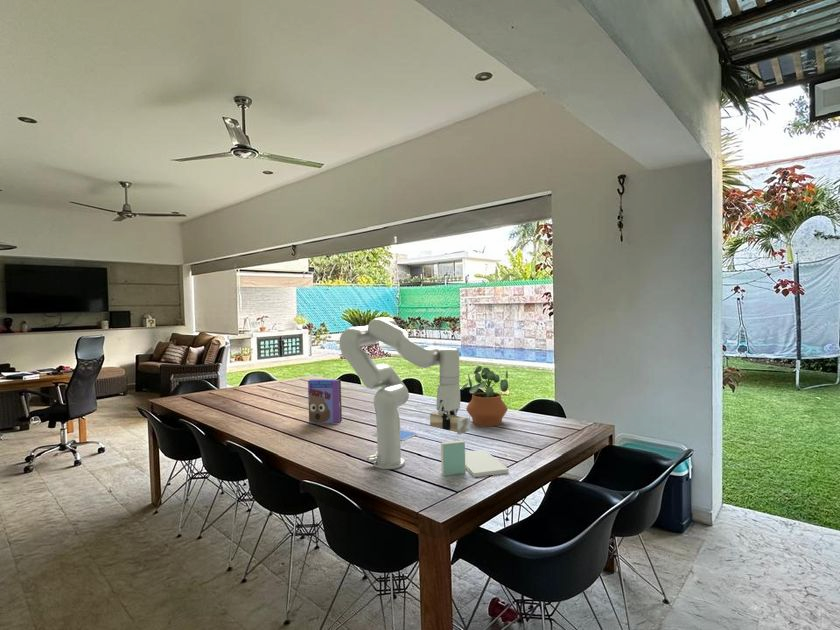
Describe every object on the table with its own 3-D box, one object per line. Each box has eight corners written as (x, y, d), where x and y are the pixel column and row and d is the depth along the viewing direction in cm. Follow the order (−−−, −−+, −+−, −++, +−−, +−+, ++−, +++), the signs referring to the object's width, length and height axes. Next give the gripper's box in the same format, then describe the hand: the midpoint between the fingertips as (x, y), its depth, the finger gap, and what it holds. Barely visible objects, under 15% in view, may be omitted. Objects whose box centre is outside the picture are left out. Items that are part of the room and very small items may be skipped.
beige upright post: (459, 434, 163) (459, 420, 163) (426, 426, 172) (427, 414, 172) (469, 430, 168) (469, 417, 168) (437, 423, 178) (437, 410, 178)
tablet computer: (372, 436, 224) (372, 433, 224) (388, 430, 234) (388, 427, 234) (402, 442, 213) (402, 439, 213) (418, 435, 223) (418, 432, 223)
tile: (443, 475, 169) (442, 444, 168) (441, 473, 171) (440, 442, 171) (465, 473, 171) (465, 442, 171) (463, 471, 173) (463, 440, 173)
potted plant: (516, 421, 244) (515, 366, 243) (489, 433, 222) (487, 373, 221) (480, 415, 258) (479, 363, 258) (452, 426, 237) (450, 369, 236)
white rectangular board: (473, 477, 167) (473, 473, 167) (453, 456, 190) (453, 452, 190) (508, 472, 170) (508, 469, 170) (484, 452, 193) (484, 449, 193)
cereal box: (309, 423, 249) (307, 380, 249) (312, 421, 254) (310, 379, 253) (339, 423, 247) (338, 380, 247) (341, 421, 252) (340, 379, 251)
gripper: (453, 376, 178) (453, 422, 179) (428, 382, 165) (428, 431, 166) (469, 378, 173) (468, 425, 174) (444, 384, 161) (444, 435, 161)
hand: (449, 427), depth 170 cm, fingers closed on beige upright post, 3 cm apart
